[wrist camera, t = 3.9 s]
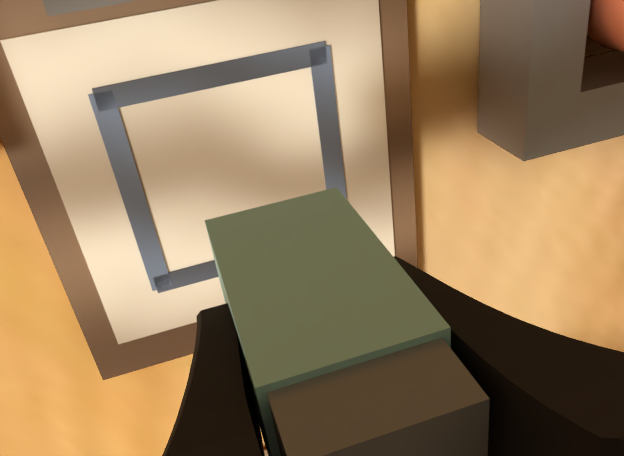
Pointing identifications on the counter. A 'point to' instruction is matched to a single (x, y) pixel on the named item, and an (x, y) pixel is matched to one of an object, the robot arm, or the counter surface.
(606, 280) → the counter surface
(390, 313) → the block
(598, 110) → the button housing
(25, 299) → the counter surface
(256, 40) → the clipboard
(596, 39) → the button
